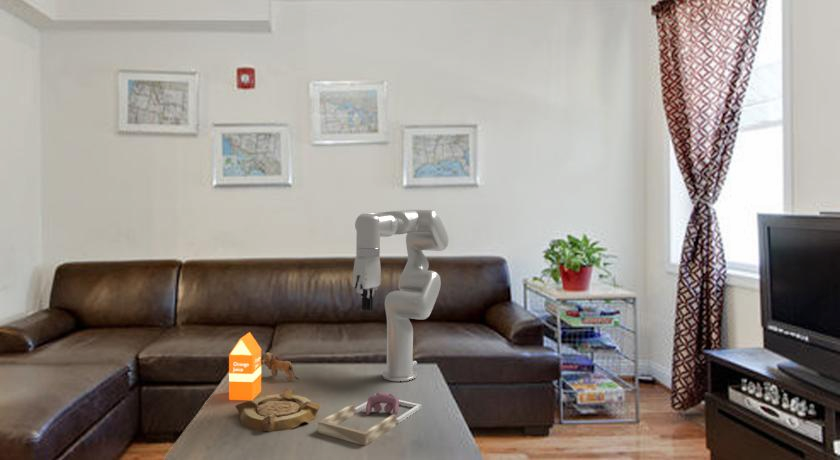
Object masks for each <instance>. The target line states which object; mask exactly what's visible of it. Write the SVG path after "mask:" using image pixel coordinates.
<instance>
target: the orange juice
mask: <svg viewBox="0 0 840 460" xmlns="http://www.w3.org/2000/svg"><path fill="white" fill-rule="evenodd" d="M261 360H262V348H261V346H260V345H259V344H258V342H257V340H256V339H255V338H254V336H253V334H252V333H251V332H250V331H249V332H248V333H246V334H245V335H243V336H242V337H240V339H239V340H238V342H237V343H236V344H235V346H234V347H233V349H232V350H231V352H230V353H229V355H228V371H229V373H228V383H229V384H228V386H229V387H228V393H229V394H228V397H229V398H228V400H230V401H249V400H252V401H254V400H255V398H257V396H258V395H259V394H260V393H261V392H262V361H261Z"/></svg>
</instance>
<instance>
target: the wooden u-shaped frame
mask: <svg viewBox="0 0 840 460" xmlns="http://www.w3.org/2000/svg"><path fill="white" fill-rule="evenodd" d="M355 406H356V405H355V404H352V403H351V404H349V405H347V406H345V407H344V408H342V409H340V410H338V411H336V412H334V413H331V414H330V415H328V416H326V417H325V418H323V419H321V420H319V421H318V422H317V433H318V434H319V433H320V434H322V435H326V436H329V437H333V438H337V439H340V440H344V441H347V442H351V443H354V444H357V445H362V446H366V447H367V446H368V445H369V444H370V443H372V442H373V441H375V440H377V439H379V438H380V437H381V436H382V435H384V434H385V433H387V432H388V431H390V430H391V429H393V428H394V427H396V426H397V423H396V418H397V416H396V415H394V414H390V415H389V416H388V417H386V418H385V419H383V420H382V421H380V422H378V423H376V424H375V425H373V426H372V427H370V428H369V429H366V430H365V431H362V430H358V429H355V428H351V427H348V426H343V425H339V424H340V423H342V422H344V421H346V420H348V419H350V418H351V417H353V416H355V413H354V411H355V408H356V407H355Z"/></svg>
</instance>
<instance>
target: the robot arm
mask: <svg viewBox="0 0 840 460" xmlns="http://www.w3.org/2000/svg"><path fill="white" fill-rule="evenodd" d="M354 226H355V227H354V228H355V231H356V237H355V238H356V240H355V241H356V244H355V245H356V247H355V248H356V249H355V250H356V254H355V256H356V257H355V259H354V263H353V264H354V265H353V272H352V287H353V289H356V291H355V292H356V294H360V297H361V309H362V310H363V311H371V310H373V309H374V298H375V292H376V291H377V290H379V286H380V285H381V282H382V281H381V280H382V271H381V269H382V268H381V267H382V266H381V260H380V257H381V255H380V254H381V251H380V250H381V248H380V247H381V242H380V241H381V240H380V239H381V237H382V238H384V237H385V238H387V237H392V236H396V235H404V234H406V237H405V245H406V251H407V252H406V253H407V262H406V264H405V266H404V269H403V271H402V273H401V275H400V277H399V280H398V284H397V287H398V289H399V290H393V291H390V292H389V293H387V295H386V296H385V299H384V309H385V315H386V369H385V370H384V371H383V372H382V378H383V379H384V380H387V381H389V382H399V383H400V381H401V382H409V380H410V381H413V380H414V378H415V379H416V378H417V377H416V376H417V374H418V373H417V372H416V371H415V370H414V367H416V366H417V365H418V362H417V360H414V358H413V356H414V354H413V353H414V347H413V346H414V345H413V344H414V328H413V325H412V322H411V321H410V319H412V320H413V319H414V320H426V319H428V318H429V317H430V315H431V313H432V311H433V309H434V307H435V304H436V301H437V299H438V296H439V292H440V291H441V285H442V284H441V283H442V282H441V275H439V273H438V272H436V271H435V270H429V265H430V264H429V261H428V259H427V257H426V255H425V254H424V253H423V251H433V252H435V251H436V252H442V251H444V250H446V249H447V247H448V245H449V234H448V231H447V229H446V227H445V225H444V223H443V221H442V219H441V217H440V216H439V214H438V213H437V212H436V211H435V210H433V209H402V210H389V211H383V212H382V211H381V212H368V213H366V212H365V213H360V214H359V215H358V216H357V218H356V219H355V223H354ZM412 379H413V380H412Z"/></svg>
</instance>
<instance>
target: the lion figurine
mask: <svg viewBox="0 0 840 460" xmlns="http://www.w3.org/2000/svg"><path fill="white" fill-rule="evenodd" d="M261 363H262V365H264V366H265V367H267V369H269V370H270V371H271V375H272V376H270V380H273V379H275V378H276V377H278V375H279V372H284V373H285V374H286V376H287V379H288V383H291V382H292V381H293V378H294V379H295V380H298V381H299V380H300V378H298V377H297V376H296V375H295V372H294V367H293V364H292V363H291V361H288V360H285V361H284V360H281V359H280V358H279V357H278V356H277V355H275V354H274V353H272V352H268V351H267V352H265V353H263V358H261ZM292 376H293V377H292Z"/></svg>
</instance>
